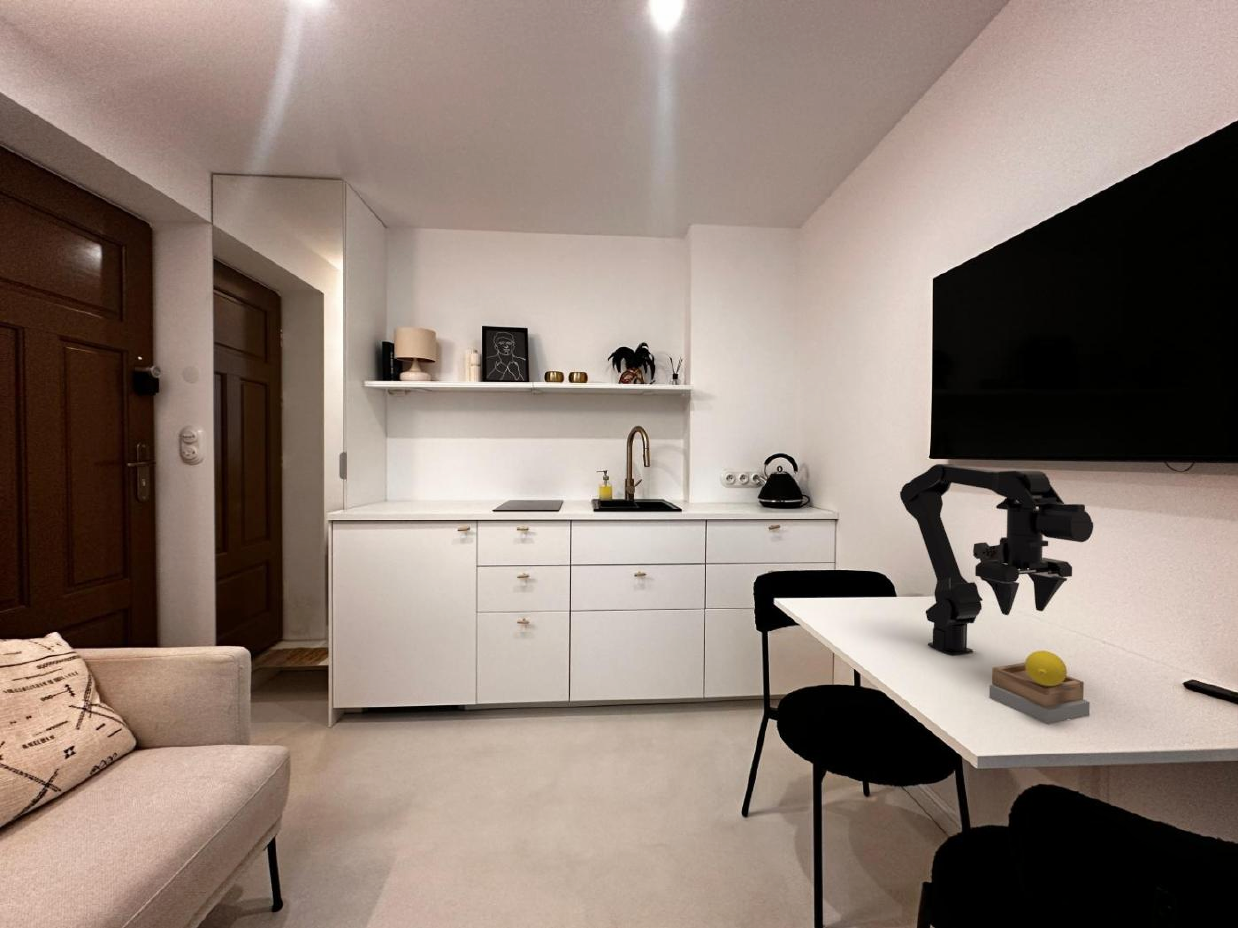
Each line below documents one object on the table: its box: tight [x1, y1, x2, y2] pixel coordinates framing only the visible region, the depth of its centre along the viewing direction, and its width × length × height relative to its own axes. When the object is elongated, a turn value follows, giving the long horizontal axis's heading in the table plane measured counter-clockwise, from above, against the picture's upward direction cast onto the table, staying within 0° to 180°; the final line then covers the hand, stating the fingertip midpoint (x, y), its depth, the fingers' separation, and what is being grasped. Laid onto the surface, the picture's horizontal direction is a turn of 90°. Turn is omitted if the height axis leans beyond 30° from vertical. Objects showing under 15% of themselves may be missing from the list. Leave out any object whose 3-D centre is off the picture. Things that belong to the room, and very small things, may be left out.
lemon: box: [1024, 650, 1068, 686], centre depth 91 cm, size 6×6×8 cm
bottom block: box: [988, 684, 1091, 725], centre depth 95 cm, size 10×10×3 cm
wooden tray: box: [991, 662, 1085, 707], centre depth 95 cm, size 9×9×3 cm
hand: (1022, 612), depth 106 cm, fingers open, 9 cm apart
